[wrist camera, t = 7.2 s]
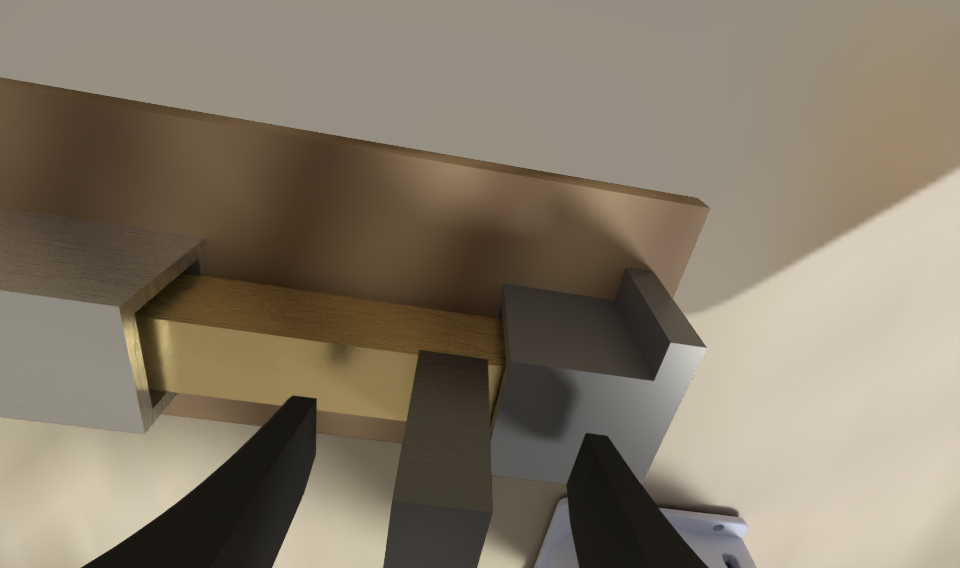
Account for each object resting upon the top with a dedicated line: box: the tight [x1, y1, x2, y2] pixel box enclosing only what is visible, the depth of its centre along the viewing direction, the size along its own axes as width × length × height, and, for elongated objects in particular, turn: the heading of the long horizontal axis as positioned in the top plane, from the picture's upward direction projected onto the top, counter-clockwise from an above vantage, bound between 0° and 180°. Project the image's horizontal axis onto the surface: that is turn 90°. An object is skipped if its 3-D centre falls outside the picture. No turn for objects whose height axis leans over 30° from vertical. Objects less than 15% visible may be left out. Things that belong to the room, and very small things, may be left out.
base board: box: [0, 78, 710, 443], centre depth 18 cm, size 26×12×1 cm, turn 80°
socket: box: [490, 268, 707, 484], centre depth 16 cm, size 5×7×4 cm
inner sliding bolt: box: [134, 273, 506, 568], centre depth 13 cm, size 16×3×8 cm, turn 80°
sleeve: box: [0, 207, 209, 434], centre depth 15 cm, size 9×4×4 cm, turn 80°
